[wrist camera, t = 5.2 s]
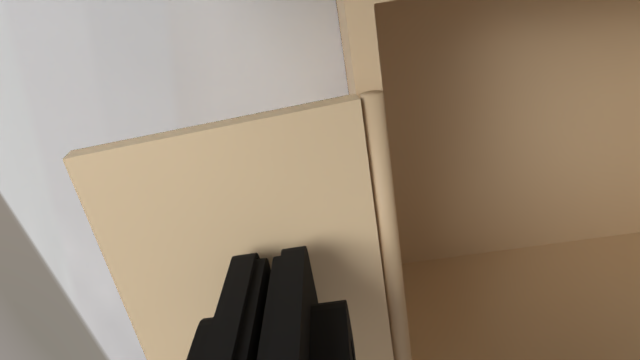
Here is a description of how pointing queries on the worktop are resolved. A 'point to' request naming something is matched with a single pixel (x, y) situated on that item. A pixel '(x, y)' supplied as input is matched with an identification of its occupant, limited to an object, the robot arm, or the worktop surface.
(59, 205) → the worktop surface
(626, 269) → the carton
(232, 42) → the worktop surface
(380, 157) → the flap
